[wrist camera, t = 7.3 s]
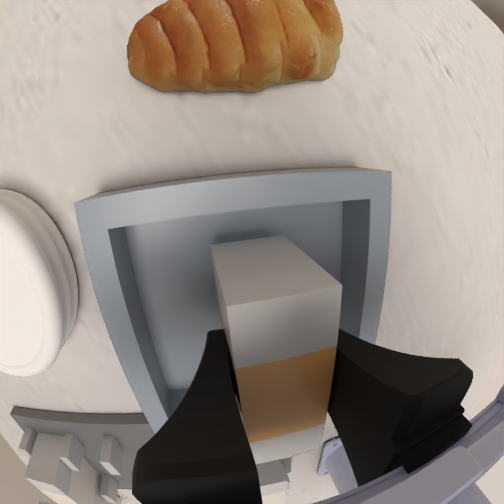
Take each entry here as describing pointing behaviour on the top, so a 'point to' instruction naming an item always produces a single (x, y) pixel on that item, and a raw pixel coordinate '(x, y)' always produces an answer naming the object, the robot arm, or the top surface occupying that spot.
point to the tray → (201, 265)
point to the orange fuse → (278, 341)
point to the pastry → (235, 44)
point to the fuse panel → (96, 442)
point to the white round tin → (33, 287)
